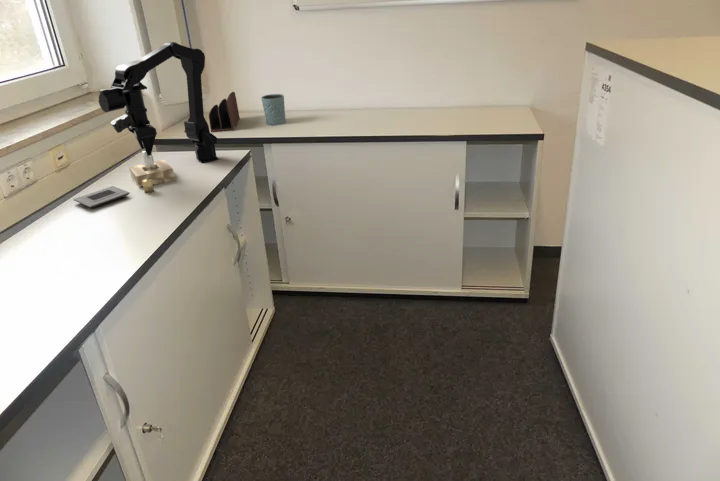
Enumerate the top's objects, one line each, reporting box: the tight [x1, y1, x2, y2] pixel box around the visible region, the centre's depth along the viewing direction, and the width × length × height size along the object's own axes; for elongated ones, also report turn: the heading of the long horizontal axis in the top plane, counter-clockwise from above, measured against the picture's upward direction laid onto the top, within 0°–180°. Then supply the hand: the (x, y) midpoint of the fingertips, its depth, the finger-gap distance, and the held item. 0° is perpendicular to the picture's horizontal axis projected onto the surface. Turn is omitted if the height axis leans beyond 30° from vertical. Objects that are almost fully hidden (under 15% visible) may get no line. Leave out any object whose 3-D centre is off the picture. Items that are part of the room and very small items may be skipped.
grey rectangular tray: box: [73, 185, 130, 209], centre depth 171 cm, size 13×10×2 cm
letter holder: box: [208, 91, 241, 133], centre depth 243 cm, size 10×20×14 cm, turn 3°
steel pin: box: [141, 149, 155, 171], centre depth 185 cm, size 3×3×10 cm
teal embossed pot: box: [260, 93, 286, 126], centre depth 243 cm, size 10×10×12 cm
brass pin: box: [142, 179, 155, 194], centre depth 175 cm, size 3×3×4 cm
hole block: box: [128, 159, 176, 188], centre depth 186 cm, size 12×12×4 cm
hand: (146, 151), depth 182 cm, fingers open, 9 cm apart
